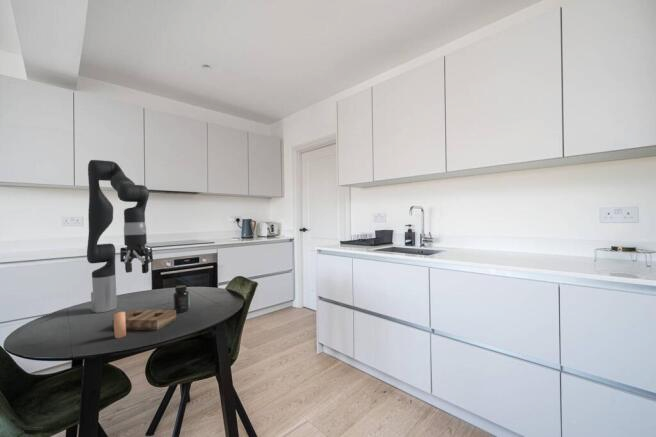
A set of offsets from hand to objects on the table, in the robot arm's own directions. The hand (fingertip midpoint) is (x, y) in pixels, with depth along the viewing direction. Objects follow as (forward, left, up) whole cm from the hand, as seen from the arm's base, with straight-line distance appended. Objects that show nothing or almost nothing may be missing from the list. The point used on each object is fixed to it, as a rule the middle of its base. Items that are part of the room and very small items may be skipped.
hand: (137, 272), depth 114 cm
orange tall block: (-3, -6, -24) cm, 25 cm away
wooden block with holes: (-2, +6, -24) cm, 24 cm away
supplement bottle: (+4, +22, -24) cm, 33 cm away
